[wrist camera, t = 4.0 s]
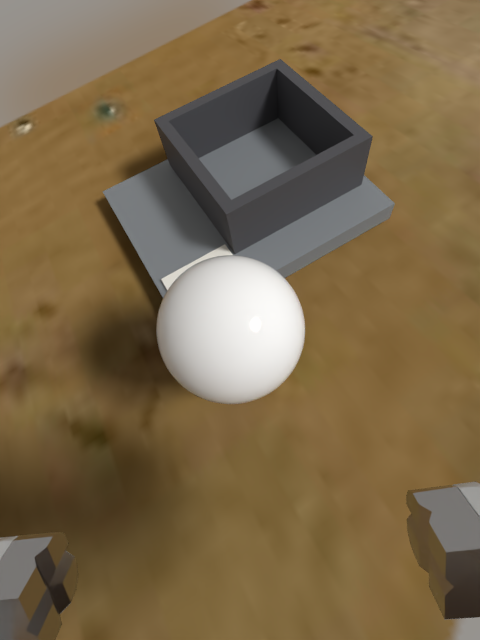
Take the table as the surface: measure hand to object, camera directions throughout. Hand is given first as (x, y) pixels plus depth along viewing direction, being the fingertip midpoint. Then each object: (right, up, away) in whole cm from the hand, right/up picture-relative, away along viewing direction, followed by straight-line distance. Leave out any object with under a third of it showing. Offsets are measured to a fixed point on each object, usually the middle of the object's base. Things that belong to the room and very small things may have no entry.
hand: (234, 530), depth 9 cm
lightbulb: (+1, +1, +15) cm, 15 cm away
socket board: (0, +13, +20) cm, 24 cm away
